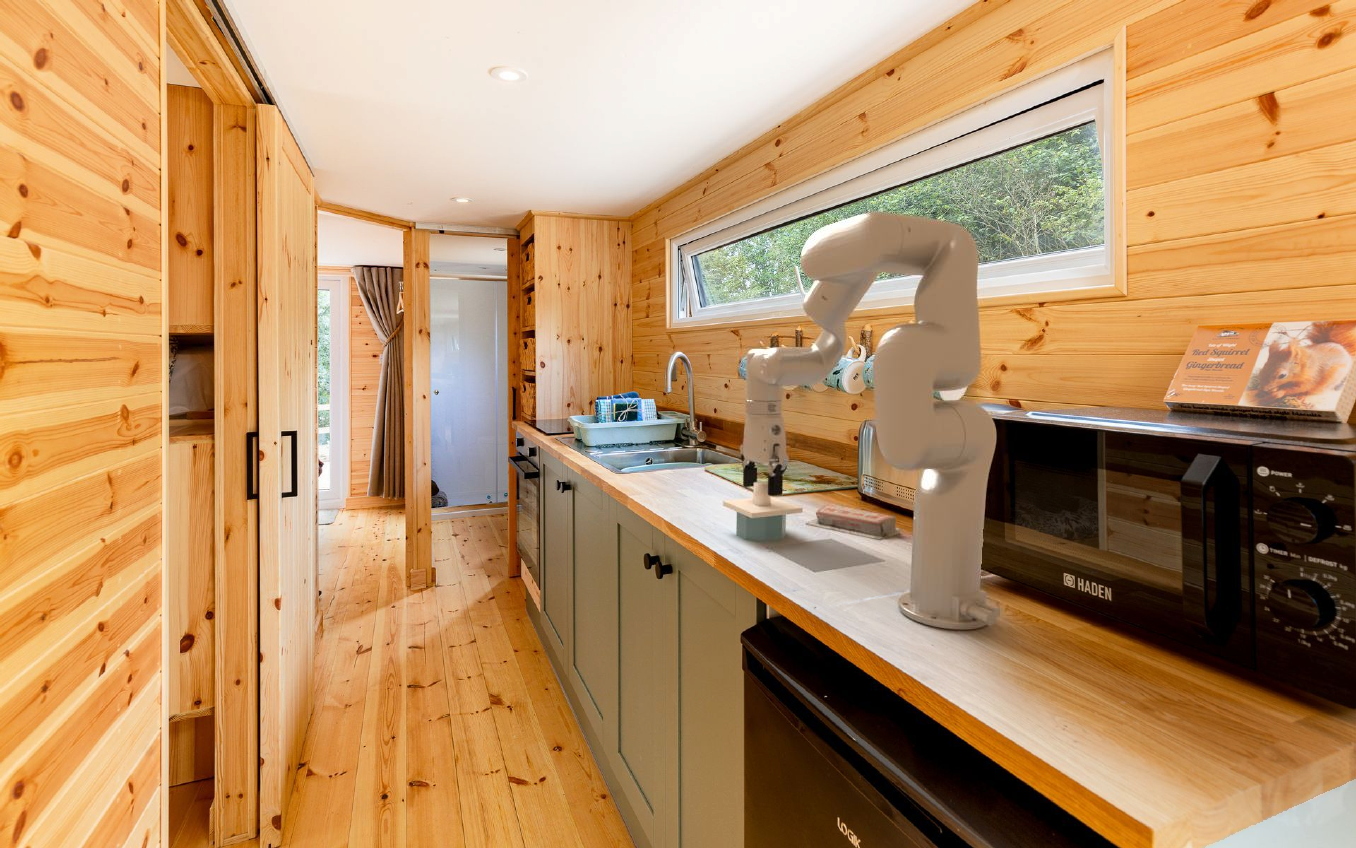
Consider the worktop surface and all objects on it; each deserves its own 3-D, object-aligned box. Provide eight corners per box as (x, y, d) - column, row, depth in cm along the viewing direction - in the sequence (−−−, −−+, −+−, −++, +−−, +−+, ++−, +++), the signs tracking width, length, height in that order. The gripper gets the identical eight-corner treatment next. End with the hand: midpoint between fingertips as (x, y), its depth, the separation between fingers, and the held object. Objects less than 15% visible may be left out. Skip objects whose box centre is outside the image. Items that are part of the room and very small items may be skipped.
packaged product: (901, 513, 140) (880, 521, 133) (901, 535, 140) (879, 544, 133) (828, 500, 152) (805, 507, 145) (827, 520, 153) (804, 528, 146)
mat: (885, 562, 120) (885, 560, 120) (814, 574, 113) (814, 572, 113) (830, 540, 134) (831, 538, 134) (765, 549, 128) (765, 547, 128)
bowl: (793, 540, 134) (793, 511, 133) (753, 545, 130) (753, 516, 129) (767, 528, 143) (768, 502, 142) (729, 533, 139) (730, 506, 138)
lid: (802, 512, 133) (803, 486, 132) (752, 518, 128) (752, 490, 127) (770, 500, 144) (771, 476, 143) (722, 505, 139) (723, 480, 138)
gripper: (803, 411, 127) (801, 497, 129) (757, 405, 143) (755, 482, 145) (771, 412, 124) (769, 500, 126) (727, 406, 140) (726, 484, 142)
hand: (762, 490), depth 135 cm, fingers open, 9 cm apart
